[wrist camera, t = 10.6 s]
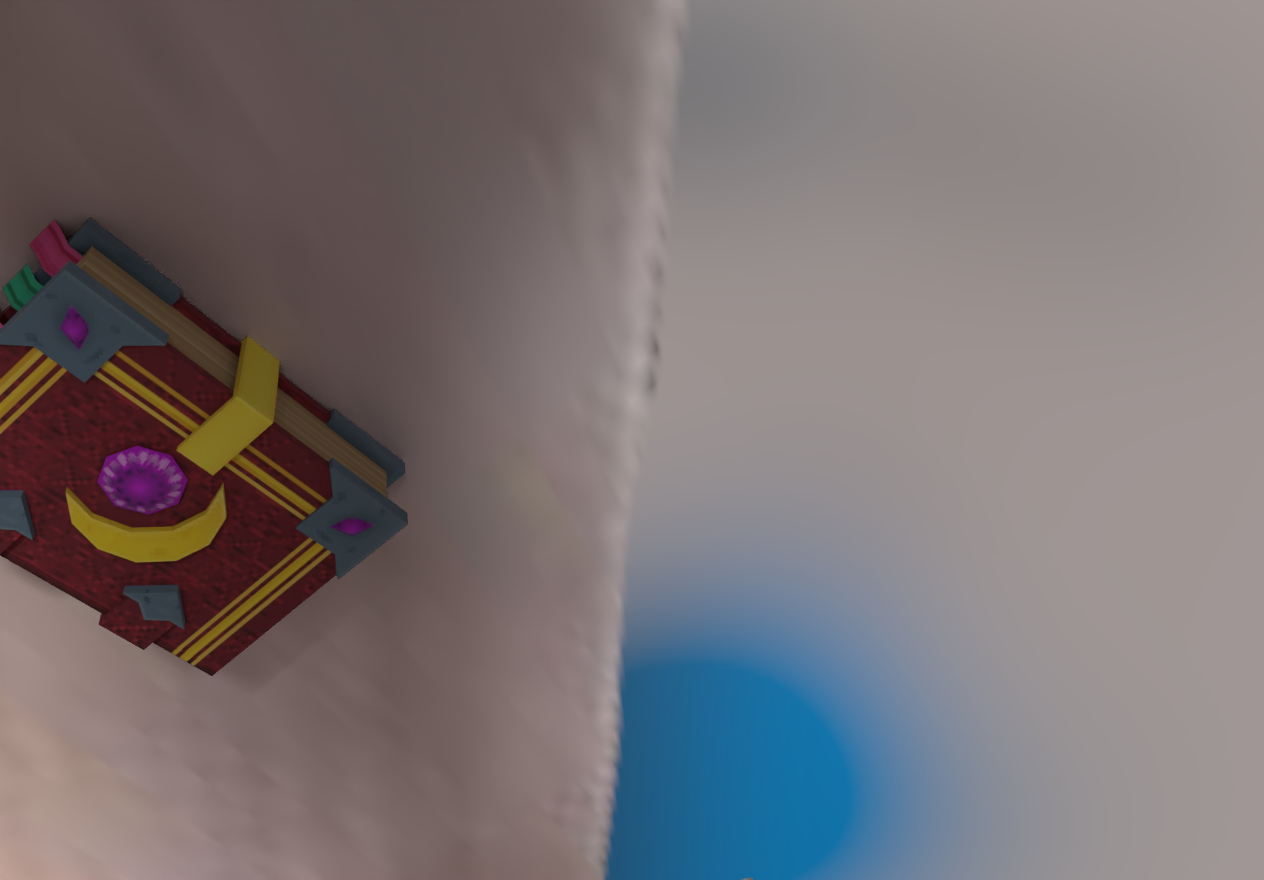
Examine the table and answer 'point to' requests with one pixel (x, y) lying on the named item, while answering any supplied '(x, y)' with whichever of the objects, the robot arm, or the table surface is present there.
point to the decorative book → (170, 458)
